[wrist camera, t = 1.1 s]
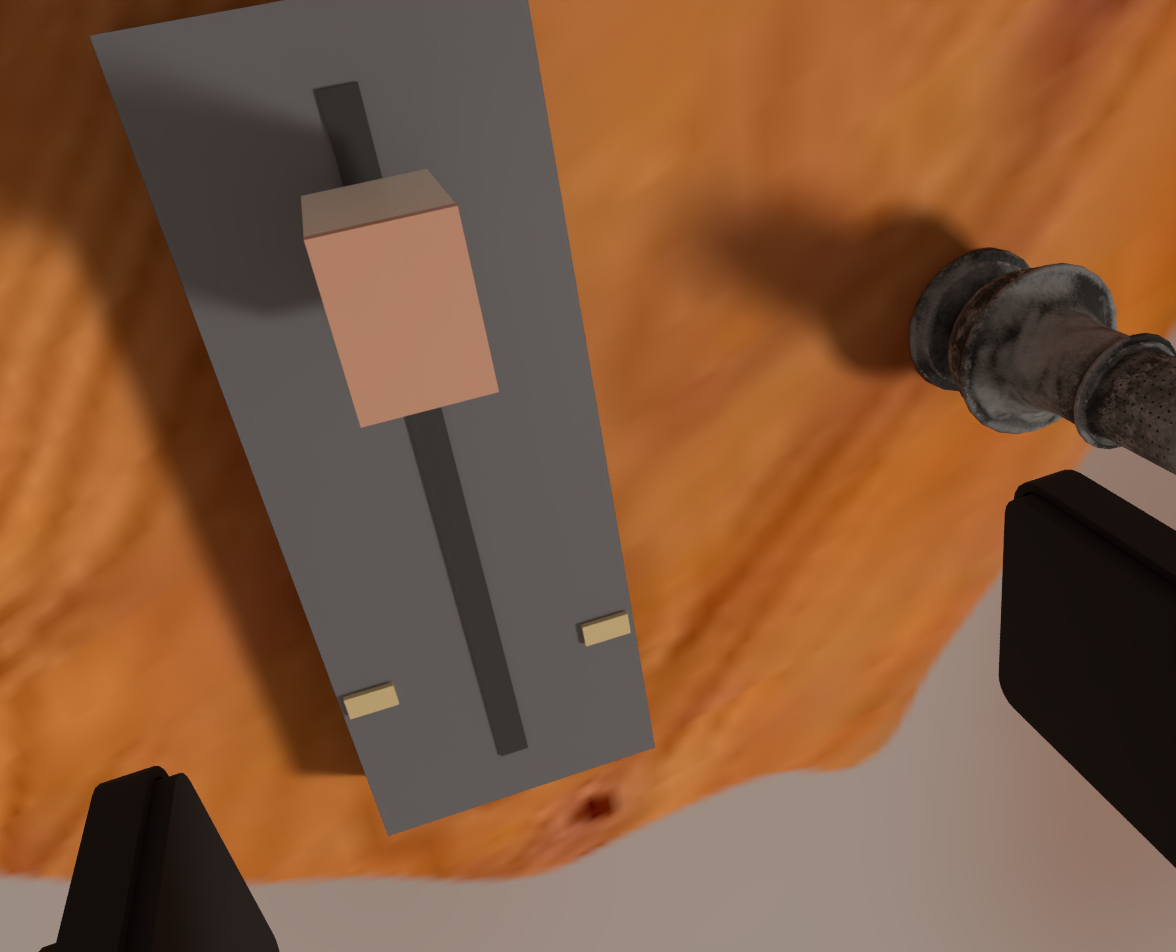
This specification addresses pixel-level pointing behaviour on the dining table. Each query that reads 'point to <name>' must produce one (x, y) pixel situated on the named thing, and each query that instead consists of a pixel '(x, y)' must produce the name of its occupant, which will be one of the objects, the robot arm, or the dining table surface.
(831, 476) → the dining table surface
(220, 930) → the robot arm
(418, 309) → the fader
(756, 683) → the dining table surface
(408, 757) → the console
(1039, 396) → the dark chess piece
